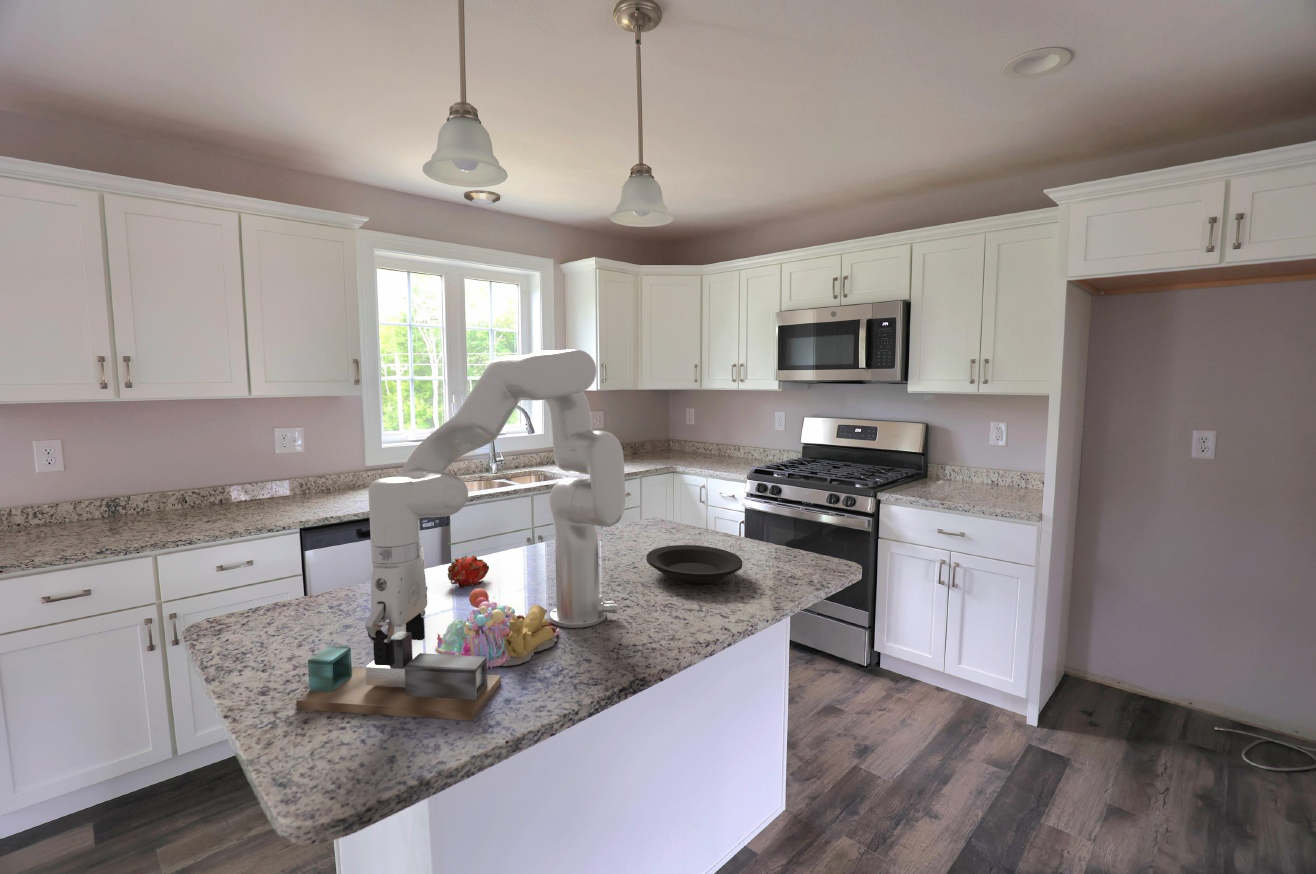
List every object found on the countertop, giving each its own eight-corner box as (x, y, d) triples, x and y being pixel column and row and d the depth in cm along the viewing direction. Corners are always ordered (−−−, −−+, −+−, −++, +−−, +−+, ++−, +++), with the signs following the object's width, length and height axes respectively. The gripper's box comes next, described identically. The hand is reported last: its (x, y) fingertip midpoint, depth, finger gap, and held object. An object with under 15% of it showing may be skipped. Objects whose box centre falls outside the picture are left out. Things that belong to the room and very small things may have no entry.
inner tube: (482, 682, 105) (480, 635, 104) (474, 691, 102) (472, 643, 101) (377, 676, 107) (374, 630, 106) (366, 685, 104) (363, 638, 103)
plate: (763, 584, 161) (763, 563, 160) (689, 603, 148) (689, 580, 147) (696, 558, 184) (696, 540, 184) (628, 573, 171) (627, 553, 170)
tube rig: (501, 683, 109) (499, 646, 109) (472, 720, 97) (471, 679, 97) (342, 674, 113) (340, 638, 112) (296, 709, 101) (294, 669, 100)
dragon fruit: (443, 596, 158) (485, 591, 166) (458, 582, 153) (501, 578, 162) (437, 565, 161) (478, 562, 170) (451, 551, 157) (493, 548, 165)
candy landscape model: (574, 626, 135) (573, 585, 134) (528, 677, 112) (527, 628, 111) (470, 617, 141) (469, 578, 140) (406, 664, 118) (404, 617, 117)
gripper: (388, 568, 94) (393, 677, 95) (442, 539, 111) (445, 631, 113) (342, 567, 95) (348, 674, 96) (402, 538, 112) (406, 629, 113)
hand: (400, 651), depth 104 cm, fingers open, 9 cm apart
